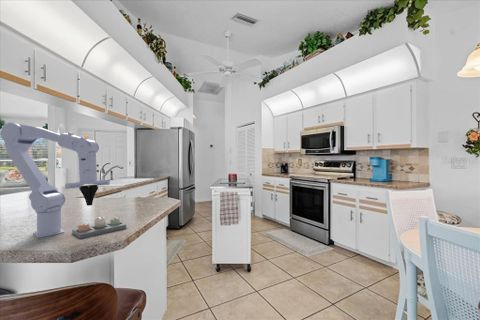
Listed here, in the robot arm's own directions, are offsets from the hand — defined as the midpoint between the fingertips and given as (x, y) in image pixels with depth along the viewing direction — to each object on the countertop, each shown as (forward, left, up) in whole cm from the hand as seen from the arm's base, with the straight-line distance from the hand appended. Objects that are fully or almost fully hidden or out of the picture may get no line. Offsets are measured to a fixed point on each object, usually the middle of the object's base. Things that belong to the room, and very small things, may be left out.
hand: (89, 205), depth 90 cm
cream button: (+2, +3, -9) cm, 10 cm away
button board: (+2, +3, -10) cm, 11 cm away
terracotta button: (+2, -2, -10) cm, 11 cm away
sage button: (+2, +9, -10) cm, 14 cm away
